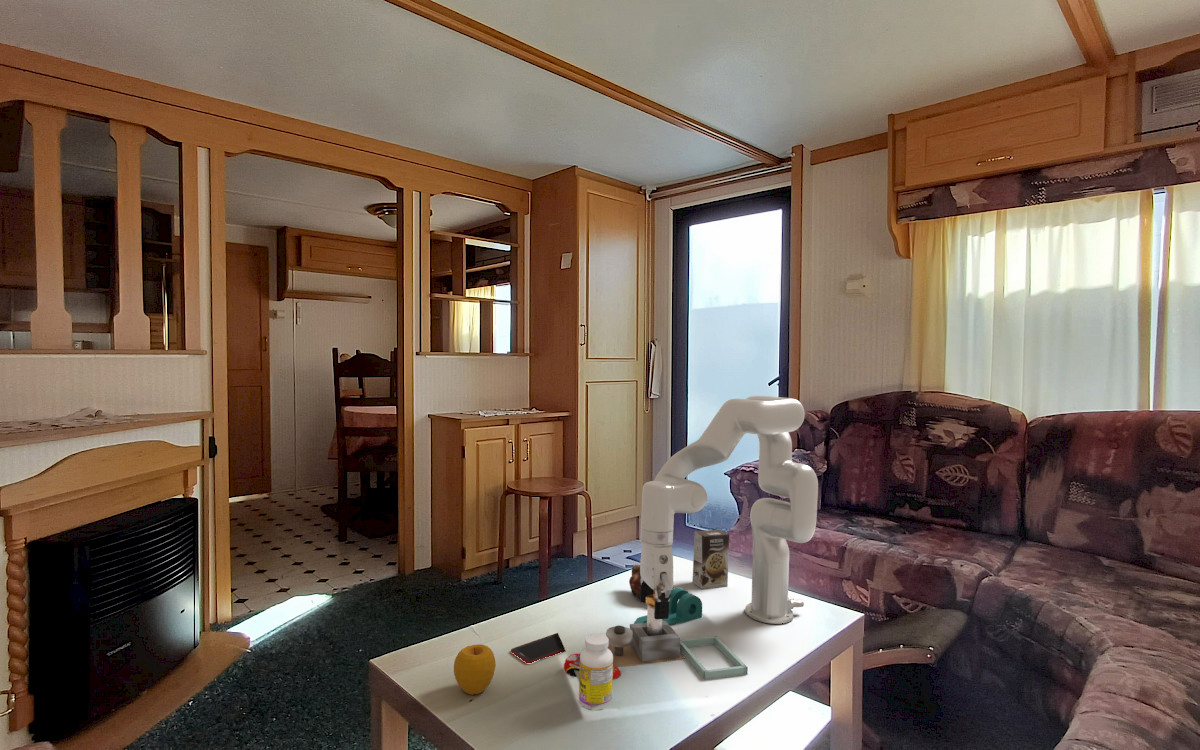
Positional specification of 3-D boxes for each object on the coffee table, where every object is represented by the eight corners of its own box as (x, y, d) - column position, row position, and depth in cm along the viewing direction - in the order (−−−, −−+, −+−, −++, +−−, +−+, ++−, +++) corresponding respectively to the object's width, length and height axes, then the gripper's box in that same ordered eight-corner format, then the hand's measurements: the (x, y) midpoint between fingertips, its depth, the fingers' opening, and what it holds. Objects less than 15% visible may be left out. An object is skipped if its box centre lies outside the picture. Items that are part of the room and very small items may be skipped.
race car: (625, 679, 130) (626, 661, 129) (614, 691, 125) (614, 672, 125) (573, 663, 136) (574, 645, 136) (560, 673, 131) (561, 655, 131)
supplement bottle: (577, 693, 123) (579, 631, 123) (610, 692, 124) (611, 630, 123) (579, 712, 116) (581, 647, 116) (613, 711, 117) (615, 646, 117)
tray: (715, 648, 144) (716, 635, 144) (747, 680, 130) (747, 667, 130) (677, 652, 141) (677, 640, 141) (704, 686, 127) (705, 672, 127)
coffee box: (702, 589, 181) (703, 536, 181) (691, 581, 187) (693, 530, 187) (728, 586, 184) (730, 534, 184) (717, 579, 190) (719, 528, 190)
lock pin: (659, 644, 142) (660, 593, 142) (666, 653, 138) (667, 600, 137) (641, 646, 141) (643, 594, 141) (648, 655, 137) (649, 602, 136)
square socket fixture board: (667, 643, 146) (668, 612, 146) (685, 665, 135) (686, 632, 135) (599, 650, 142) (600, 618, 141) (612, 674, 131) (613, 640, 131)
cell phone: (579, 647, 144) (579, 643, 144) (527, 667, 134) (527, 662, 134) (559, 635, 149) (559, 631, 149) (508, 653, 140) (509, 649, 140)
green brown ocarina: (643, 585, 183) (646, 560, 182) (674, 607, 170) (677, 579, 169) (617, 589, 178) (619, 563, 178) (646, 612, 165) (649, 583, 165)
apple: (473, 674, 129) (474, 633, 129) (504, 686, 125) (505, 644, 125) (444, 693, 122) (445, 650, 122) (476, 706, 118) (477, 661, 118)
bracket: (685, 614, 164) (686, 585, 163) (701, 623, 158) (702, 594, 158) (630, 627, 154) (631, 597, 154) (645, 638, 149) (646, 607, 148)
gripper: (686, 546, 131) (683, 624, 131) (658, 525, 148) (655, 594, 148) (654, 547, 129) (651, 627, 129) (629, 526, 146) (626, 596, 146)
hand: (653, 609), depth 139 cm, fingers open, 9 cm apart
